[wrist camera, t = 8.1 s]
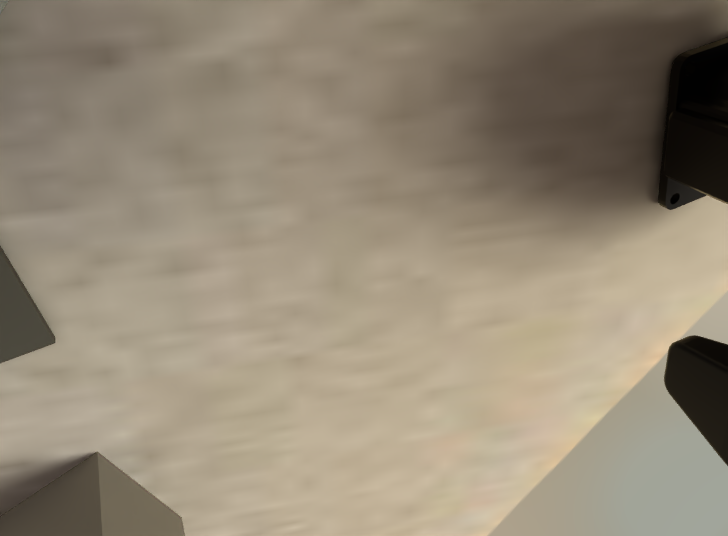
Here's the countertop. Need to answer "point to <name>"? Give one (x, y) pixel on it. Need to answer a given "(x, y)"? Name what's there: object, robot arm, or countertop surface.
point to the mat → (19, 316)
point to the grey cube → (92, 506)
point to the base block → (3, 4)
